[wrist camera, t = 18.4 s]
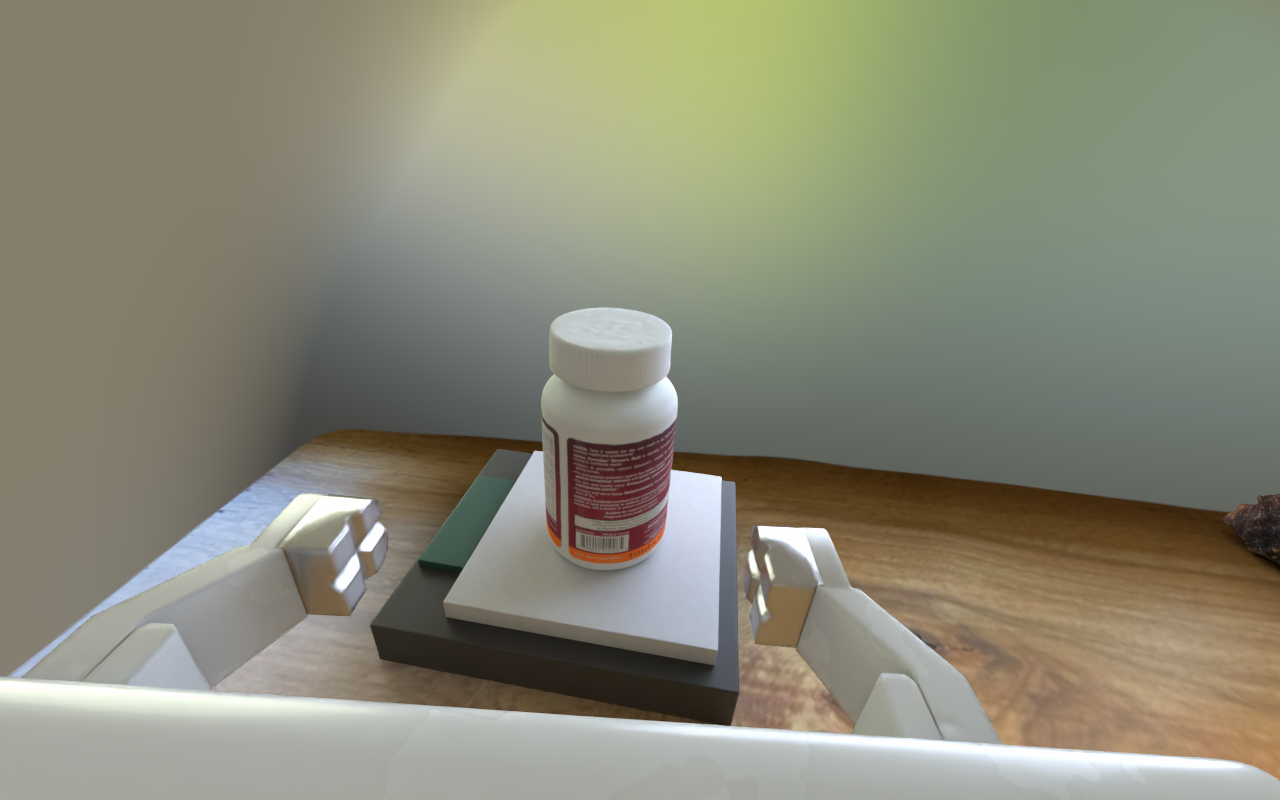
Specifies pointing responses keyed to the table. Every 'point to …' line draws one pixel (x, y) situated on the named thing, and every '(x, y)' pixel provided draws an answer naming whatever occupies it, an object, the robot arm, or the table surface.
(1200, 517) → the table surface
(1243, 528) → the lashed bone hook
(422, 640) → the scale
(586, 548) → the pill bottle
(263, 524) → the table surface
